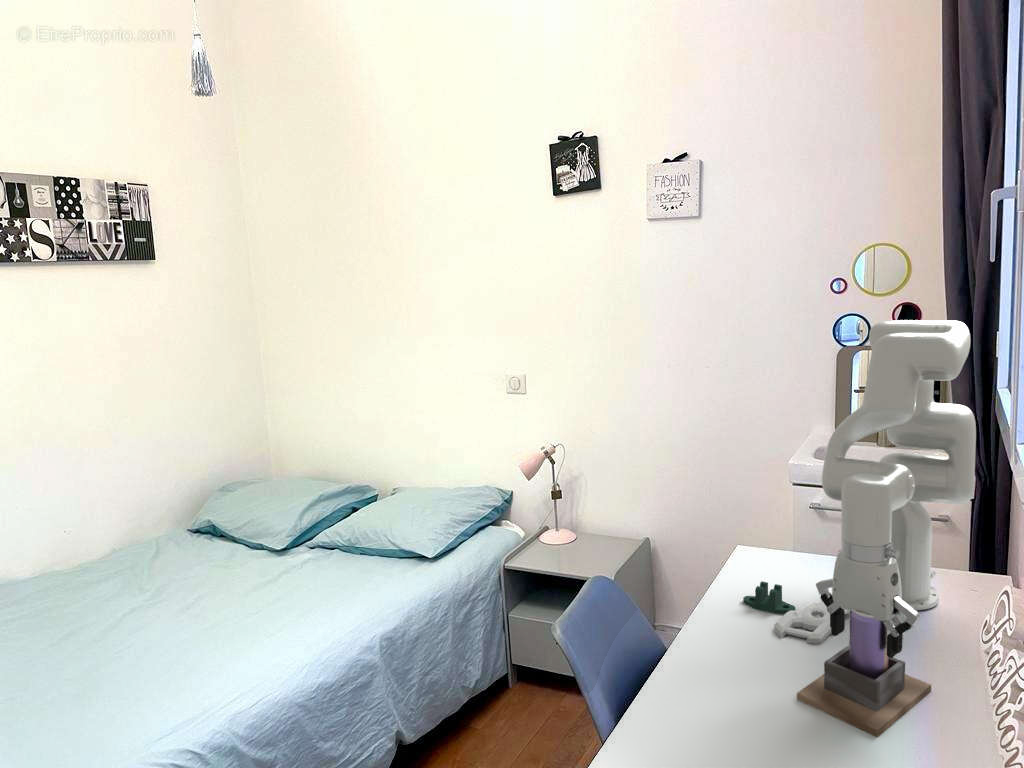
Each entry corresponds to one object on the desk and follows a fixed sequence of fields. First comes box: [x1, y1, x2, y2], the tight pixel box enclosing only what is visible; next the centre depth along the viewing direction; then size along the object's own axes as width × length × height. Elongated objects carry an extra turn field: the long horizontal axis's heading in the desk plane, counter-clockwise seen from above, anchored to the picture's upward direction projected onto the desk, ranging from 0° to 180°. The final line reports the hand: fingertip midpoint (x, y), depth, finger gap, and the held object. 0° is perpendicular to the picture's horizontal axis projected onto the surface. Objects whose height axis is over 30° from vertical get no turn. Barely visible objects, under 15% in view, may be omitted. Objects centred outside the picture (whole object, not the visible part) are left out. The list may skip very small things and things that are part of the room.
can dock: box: [796, 643, 932, 738], centre depth 131 cm, size 18×14×6 cm
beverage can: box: [849, 609, 890, 680], centre depth 129 cm, size 6×6×15 cm
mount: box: [742, 580, 796, 615], centre depth 163 cm, size 11×4×5 cm, turn 53°
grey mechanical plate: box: [773, 599, 850, 644], centre depth 156 cm, size 18×4×10 cm
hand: (864, 643), depth 130 cm, fingers open, 9 cm apart
